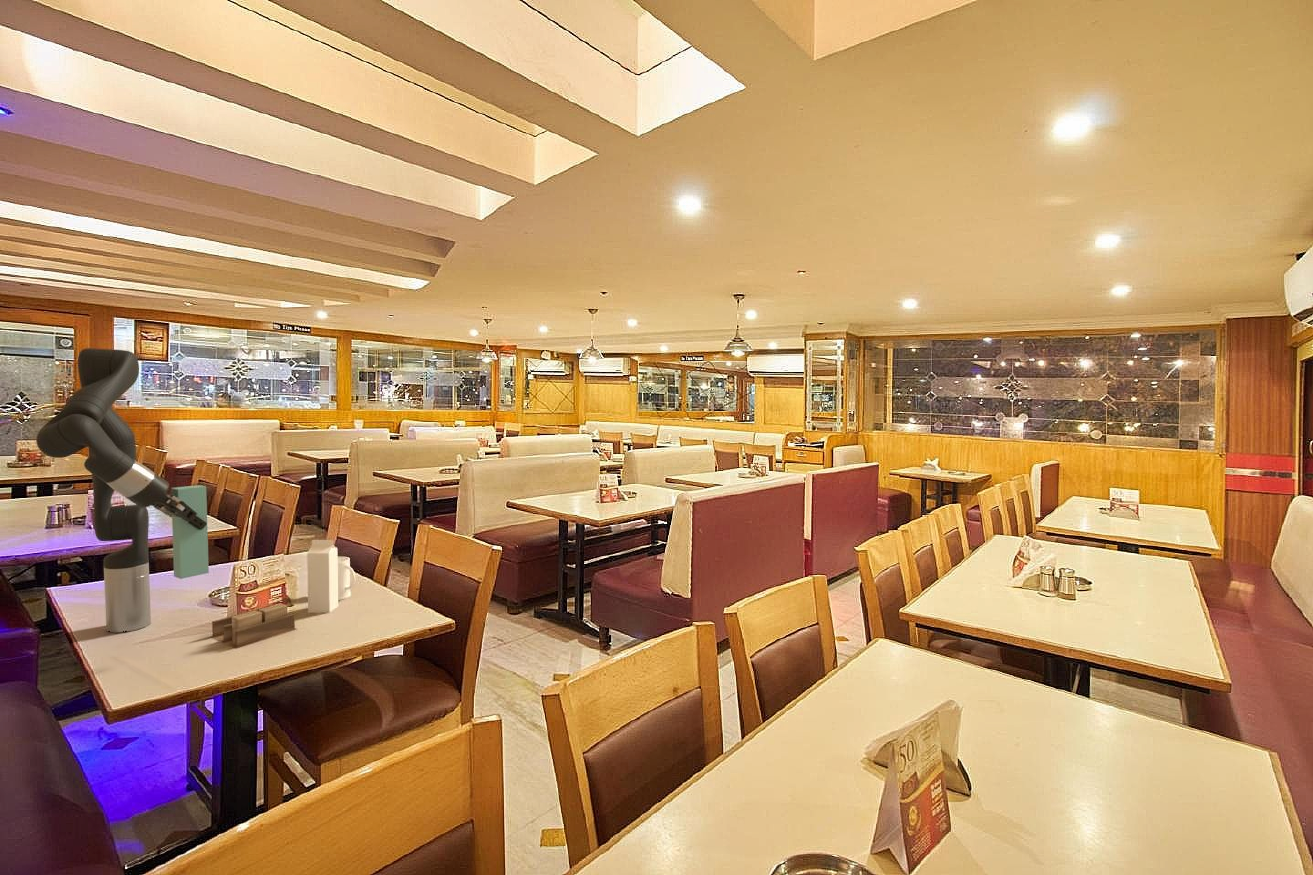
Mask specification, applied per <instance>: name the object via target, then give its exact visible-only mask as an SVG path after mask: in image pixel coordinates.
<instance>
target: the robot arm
mask: <svg viewBox="0 0 1313 875" xmlns="http://www.w3.org/2000/svg"><path fill="white" fill-rule="evenodd" d="M77 372H78V378H79V383H80V388H79V389H78V390H76V391H75V392H73V393H72V394H71V396H70V397H69V398H68V400H67V401H66V403H65V404H64V406H63V407H62V408H61V410H60V411H59V412H58V413H57V414H56V415H55V416H53V417H52V418H51V419H50V420H48V422H47V423H45V424H44V425H43V427H42V428H41V429H39V431H38V433H37V435H36V437H35V438H36V440H35V441H36V446H37V449H39V450H40V452H41V453H42V454H44V455H46V456H48V457H50V458H54V459H57V458H58V459H61V458H62V459H63V458H67V457H71V456H72V455H74V454H76V453H77V452H79V451H82V450H84V449H85V448H88V457H87V458H86V459H85V461H84V463H83V464H84V465H83V466H84V469H86V471H88V472H89V473H90V474H91V477H92V478H91V479H92V485H93V486H92V489H93V495H92V496H93V529H94V535H95V537H96V538H97V540H98V541H99V542H100V541H101V542H114V541H115V542H116V541H129V540H131V544H129V545H128V546H126V547H124V548H122V549H120V550H116V551H114V552H110V553H109V554H107V555H105V557H103V579H104V580H103V582H104V600H105V603H104V604H105V605H104V606H105V607H104V608H105V624H106V625H105V628H106V629H105V630H106V632H108V631H110V632H109V633H126V632H125V631H127V632H132V631H136V630H140V629H143V628H146V627H147V626H149V625H150V624H151V623H152V615H151V614H152V613H151V612H152V611H151V590H150V589H151V587H150V586H151V585H150V563H149V561H150V560H149V557H150V556H149V526H150V525H149V524H150V522H149V520H150V518H149V516H150V515H149V511H148V508H149V507H153V508H154V509H155V510H157V511H160V512H162V513H163V514H164V515H166V516H168V517H170V518H172V516H174V517H175V518H178V517H180V518H181V519H183V520H184V521H185V522H188V523H189V524H191V525H192V526H194V527H195V528H197V529H198V530H202V529H203V528H204V527H205V526H206V525H207V526H208V522H207V523H206V522H205V521H203V520H202V519H200V518H199V517H198V516H196V515H197V513H196V512H195V511H194V510H192V509H191V508H190V507H189V506H188V505H187V504H185V503H184V502H183V501H179V499H178V498H177V497H175V496H174V495H170V493H169V494H168V493H167V492H168V491H169V488H170V483H169V482H168V481H167V480H165V479H164V478H162V477H161V476H160V475H158V474H157V473H156V472H154V471H153V470H151V469H150V468H148V467H147V466H145V465H144V464H143V463H141V462H138V461H137V446H136V436H135V434H134V431H133V430H132V428H131V427H130V426H129V424H128V423H127V422H126V421H125V420H124V419H123V418H122V417H121V415H118V413H117V412H116V411H115V410H114V409H113V407H112V405H113V404H115V402H116V401H117V400H118V399H120V398H121V397H122V396H123V395H124V394H125V393H126V392H128V390H130V388H132V387H133V385H135V383H136V381H137V380H138V378H139V373H140V365H139V359H138V357H137V356H136V354H135V353H134V352H132V351H129V350H124V349H114V348H113V349H111V348H110V349H108V348H94V347H93V348H92V347H91V348H87V347H85V348H83V349H82V350H80V351H79V353H78V357H77ZM115 492H116V493H118V494H120V495H121V496H123V497H124V498H126V500H129V501H130V502H132V503H133V504H130V505H128V504H127V505H114V506H113V505H112V497H113V494H114V493H115ZM175 513H176V514H175ZM188 513H189V514H188ZM187 514H188V515H187ZM186 515H187V516H186ZM123 631H124V632H123Z"/></svg>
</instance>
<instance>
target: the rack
mask: <svg viewBox="0 0 1313 875" xmlns="http://www.w3.org/2000/svg"><path fill="white" fill-rule="evenodd" d="M270 606H271V605H267V606H264V607H263V606H262V607H258V608H256V609H253V610H252V609H251V610H250V611H245V612H241V613H238V614H234V615H231V616H227V617H224V618H219V619H216V620H212V621H211V624H212V625H211V626H212V627H211V628H212V636H210V639H213V640H215V641H218V642H220V643H223V644H224V645H227V646H229V647H232V648H234V649H235V650H236V649H240V648H243V647H246V646H250V645H253V644H255V643H259V642H262V641H264V640H269V639H271V638H274V637H278V636H281V635H283V634H287V633H291V632H294V631H297V630H298V628H296V627H295V614H294V613H291V614H287V616H284V617H280V618H277V619H273V620H270V621H267V622H263V623H260V624H257V625H253V626H250V627H246V628H243V629H240V630H236V631H235V643H234V642H233V640H232V617H234V616H237V615H241V614H244V613H248V612H252V611H255V610H256V611H259V609H262V608H266V607H270Z"/></svg>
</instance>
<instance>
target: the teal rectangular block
mask: <svg viewBox="0 0 1313 875" xmlns="http://www.w3.org/2000/svg"><path fill="white" fill-rule="evenodd" d="M170 492H171V495H174V496H175V497H177V498H178V499H179V501H183V502H184V503H185V504H187V505H188V506H189V507H190V508H191V509H192V510H194V511H195V512H196V513H197V515H196V516H198V517H199V518H200V519H202V520H203V521H205V522H206V523H207V525H206V526H205V527H204V528H203V529H202V530H198V529H197V528H195V527H194V526H192V525H191V524H189V523H188V522H185V521H184V520H183V519H181V518H180V517H178V518H175V517H174V516H172V517H171V523H172V524H171V525H172V556H173V558H172V559H173V577H174V578H177V579H180V580H182V579H187V578H191V577H197V576H202V575H205V574H210V570H209V569H210V567H209V566H210V565H209V539H208V537H209V536H208V507H207V506H208V505H207V504H208V502H207V486H205V485H201V484H199V485H198V484H197V485H189V486H178V487H171V488H170ZM171 495H170V496H171ZM175 514H176V513H175ZM188 514H189V513H188ZM188 514H187V515H188ZM187 515H186V516H187Z"/></svg>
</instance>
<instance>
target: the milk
mask: <svg viewBox="0 0 1313 875" xmlns="http://www.w3.org/2000/svg"><path fill="white" fill-rule="evenodd" d="M306 554H307V555H306V560H307V562H306V563H307V564H306V565H307V568H306V569H307V609H308V610H307V611H308V612H307V613H309V614H310V613H311V614H315V613H318V614H321V613H324V614H325V613H331V612H332V611H334V610H335V609H336V608H339V601H338V557H339V556H338V555H339V554H338V547H336V546H335V545H334V540H333V539H312V540H311V545H310V547H309V549H308V552H307V553H306Z"/></svg>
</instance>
